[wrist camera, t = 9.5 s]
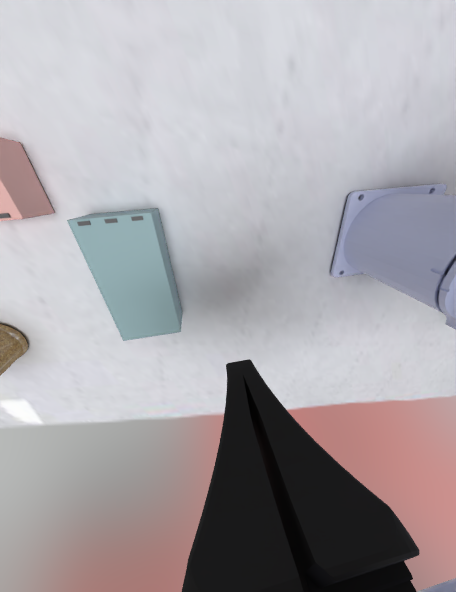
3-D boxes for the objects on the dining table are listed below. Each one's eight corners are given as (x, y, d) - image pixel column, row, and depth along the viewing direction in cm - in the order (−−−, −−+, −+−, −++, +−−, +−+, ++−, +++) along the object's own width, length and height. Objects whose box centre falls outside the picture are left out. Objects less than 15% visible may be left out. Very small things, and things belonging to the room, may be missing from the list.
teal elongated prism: (158, 208, 15) (150, 213, 12) (182, 313, 20) (180, 332, 17) (89, 214, 14) (66, 220, 12) (132, 320, 19) (123, 341, 17)
